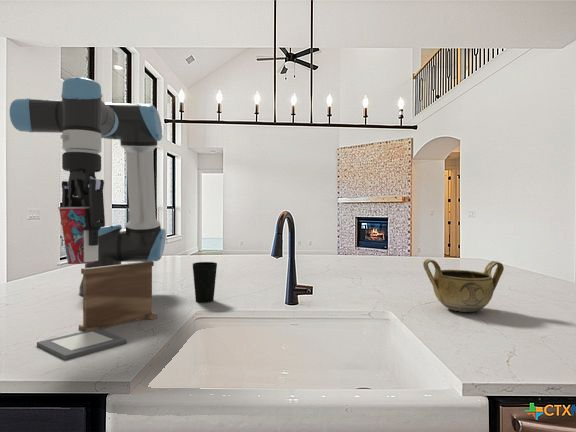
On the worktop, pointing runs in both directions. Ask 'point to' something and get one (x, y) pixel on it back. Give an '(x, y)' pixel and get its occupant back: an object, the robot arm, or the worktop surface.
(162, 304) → the worktop surface
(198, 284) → the cup
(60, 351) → the mat
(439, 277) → the ceramic bowl
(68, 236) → the cup
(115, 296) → the screen
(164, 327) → the worktop surface
